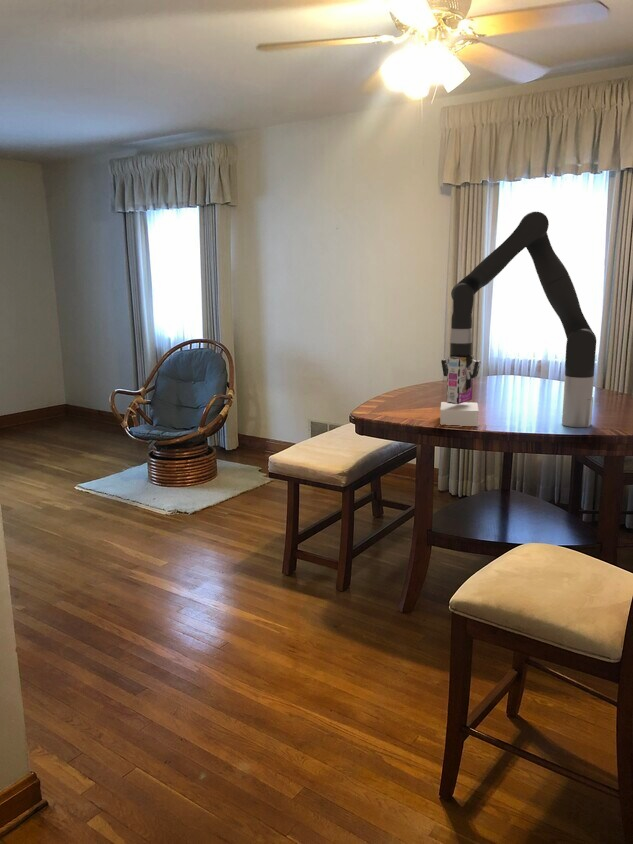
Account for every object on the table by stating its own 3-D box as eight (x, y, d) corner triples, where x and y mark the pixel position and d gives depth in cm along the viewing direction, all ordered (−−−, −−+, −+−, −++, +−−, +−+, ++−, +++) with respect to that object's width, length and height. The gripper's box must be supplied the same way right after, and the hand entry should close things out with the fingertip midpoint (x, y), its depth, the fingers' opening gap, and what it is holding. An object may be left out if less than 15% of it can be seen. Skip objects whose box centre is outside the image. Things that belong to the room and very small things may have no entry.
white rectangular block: (476, 418, 243) (477, 402, 242) (478, 427, 229) (478, 410, 227) (440, 417, 245) (441, 401, 244) (440, 426, 231) (440, 410, 230)
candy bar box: (458, 404, 230) (459, 358, 226) (446, 403, 233) (446, 357, 229) (473, 399, 238) (474, 354, 234) (460, 398, 241) (461, 353, 237)
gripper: (484, 340, 230) (483, 388, 234) (445, 339, 237) (444, 385, 241) (478, 343, 224) (476, 391, 228) (438, 341, 231) (437, 389, 235)
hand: (460, 388), depth 234 cm, fingers closed on candy bar box, 5 cm apart
